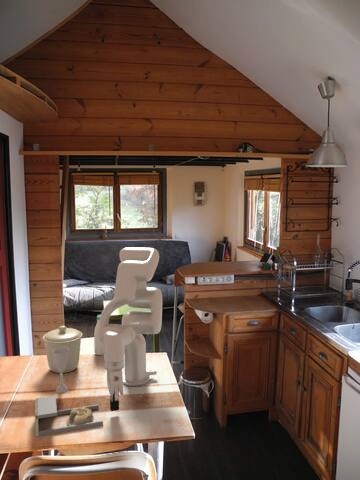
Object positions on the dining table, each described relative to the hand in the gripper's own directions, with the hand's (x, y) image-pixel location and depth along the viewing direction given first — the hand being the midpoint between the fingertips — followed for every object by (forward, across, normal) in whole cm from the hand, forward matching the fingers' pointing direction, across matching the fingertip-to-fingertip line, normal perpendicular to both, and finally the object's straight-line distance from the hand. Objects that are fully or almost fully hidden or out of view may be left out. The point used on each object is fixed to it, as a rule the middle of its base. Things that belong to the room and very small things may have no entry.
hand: (114, 409), depth 166 cm
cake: (+3, 0, +13) cm, 13 cm away
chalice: (+2, +26, +18) cm, 32 cm away
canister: (+2, +48, +16) cm, 51 cm away
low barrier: (+2, +1, +17) cm, 17 cm away
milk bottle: (+1, +62, -4) cm, 63 cm away
